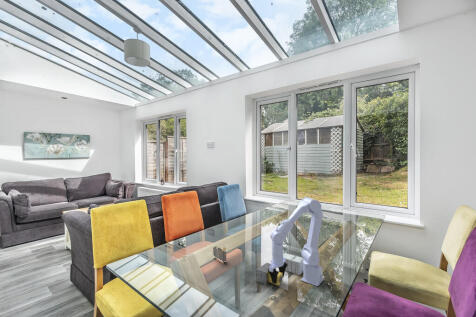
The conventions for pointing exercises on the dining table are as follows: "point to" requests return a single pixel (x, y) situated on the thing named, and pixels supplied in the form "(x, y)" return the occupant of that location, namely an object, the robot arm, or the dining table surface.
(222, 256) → the ruin model on sheet
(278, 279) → the end cover
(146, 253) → the dining table surface
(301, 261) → the supplement box
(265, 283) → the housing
